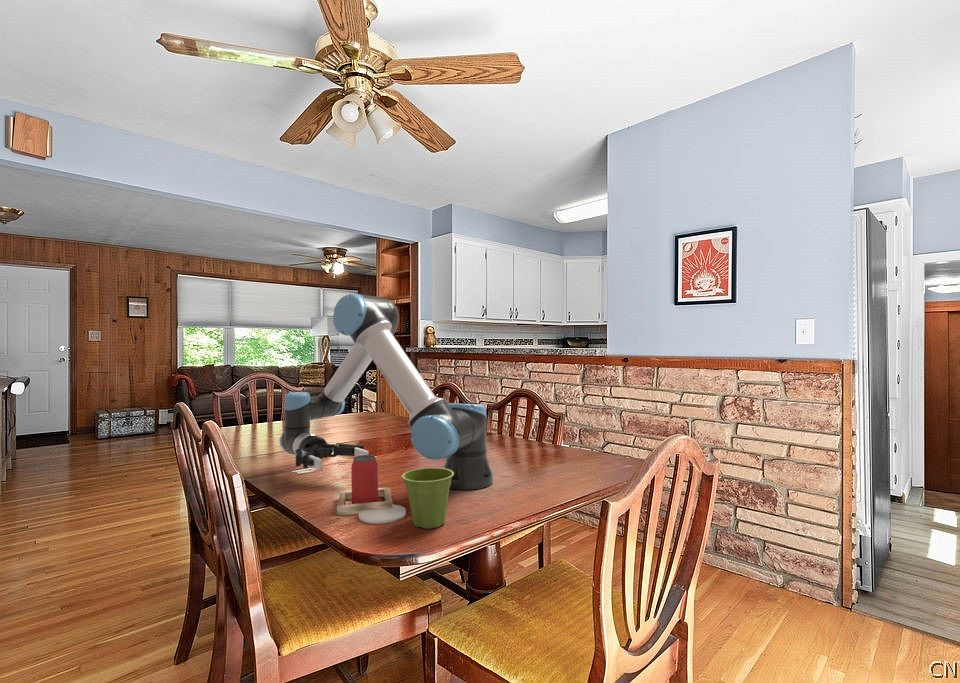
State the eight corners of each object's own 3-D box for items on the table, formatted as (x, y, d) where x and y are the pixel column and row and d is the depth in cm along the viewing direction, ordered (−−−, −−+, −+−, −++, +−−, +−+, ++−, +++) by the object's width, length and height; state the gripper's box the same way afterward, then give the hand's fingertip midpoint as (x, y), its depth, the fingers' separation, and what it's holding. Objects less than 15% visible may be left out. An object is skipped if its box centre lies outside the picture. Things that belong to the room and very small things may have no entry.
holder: (389, 494, 132) (389, 487, 132) (392, 510, 120) (392, 502, 120) (339, 498, 129) (339, 491, 129) (337, 515, 117) (337, 507, 117)
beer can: (371, 509, 121) (371, 461, 121) (347, 508, 122) (346, 460, 122) (382, 501, 127) (381, 454, 127) (358, 499, 129) (358, 454, 129)
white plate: (403, 505, 123) (403, 502, 123) (407, 521, 113) (407, 517, 113) (358, 509, 121) (358, 506, 121) (358, 525, 110) (358, 522, 110)
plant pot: (434, 510, 120) (433, 464, 120) (465, 523, 111) (464, 474, 111) (392, 522, 112) (391, 473, 112) (421, 538, 103) (421, 484, 103)
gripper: (348, 453, 156) (384, 466, 141) (268, 467, 139) (299, 483, 123) (348, 429, 156) (384, 439, 140) (268, 441, 139) (299, 454, 123)
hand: (345, 460), depth 132 cm, fingers open, 13 cm apart
